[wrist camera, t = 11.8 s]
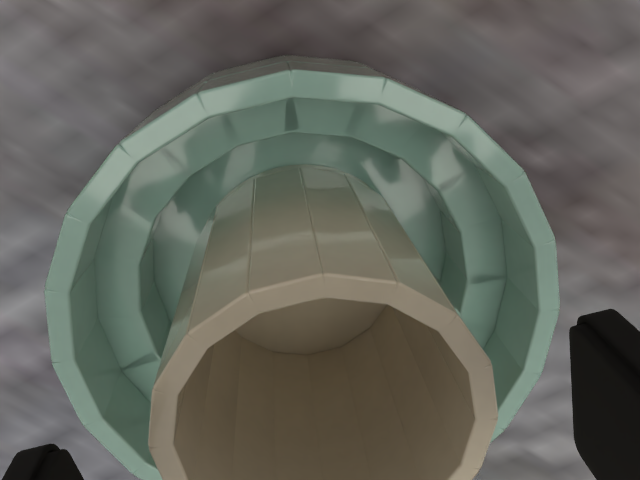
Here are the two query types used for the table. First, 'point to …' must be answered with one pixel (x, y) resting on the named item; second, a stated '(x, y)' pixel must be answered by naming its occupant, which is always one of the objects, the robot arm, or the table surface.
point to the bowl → (265, 154)
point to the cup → (317, 346)
